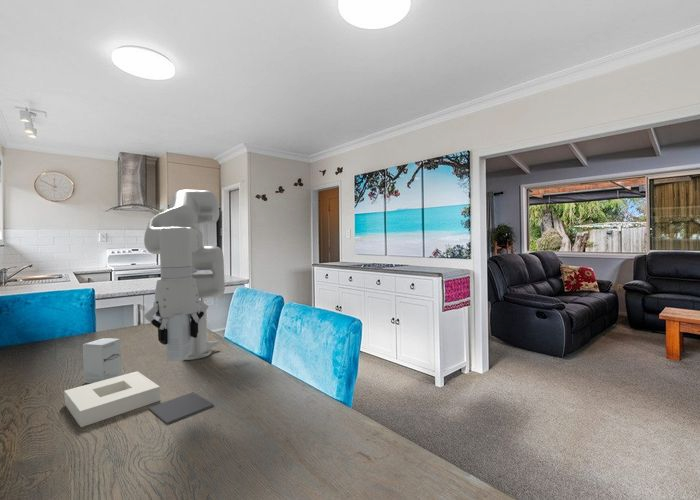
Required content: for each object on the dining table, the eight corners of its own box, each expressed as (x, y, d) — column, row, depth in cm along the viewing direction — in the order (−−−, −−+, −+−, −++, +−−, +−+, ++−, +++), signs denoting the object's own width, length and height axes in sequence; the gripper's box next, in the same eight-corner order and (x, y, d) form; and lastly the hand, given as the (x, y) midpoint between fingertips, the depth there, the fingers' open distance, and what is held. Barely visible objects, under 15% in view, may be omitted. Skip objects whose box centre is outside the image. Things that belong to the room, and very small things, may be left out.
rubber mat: (193, 393, 102) (193, 391, 102) (213, 406, 94) (213, 404, 94) (148, 409, 93) (148, 407, 93) (166, 424, 85) (166, 422, 85)
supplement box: (102, 384, 109) (101, 345, 109) (83, 383, 111) (81, 344, 111) (122, 375, 117) (120, 338, 116) (103, 374, 118) (102, 337, 118)
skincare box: (175, 354, 96) (174, 311, 96) (191, 354, 96) (190, 310, 96) (165, 362, 90) (165, 315, 89) (182, 361, 90) (182, 315, 90)
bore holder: (137, 383, 110) (137, 371, 110) (160, 400, 98) (159, 386, 98) (65, 404, 96) (64, 390, 96) (80, 427, 84) (80, 411, 84)
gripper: (202, 270, 101) (204, 331, 102) (135, 275, 88) (137, 345, 89) (214, 271, 96) (216, 335, 97) (145, 277, 83) (148, 351, 84)
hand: (179, 339), depth 93 cm, fingers closed on skincare box, 7 cm apart
